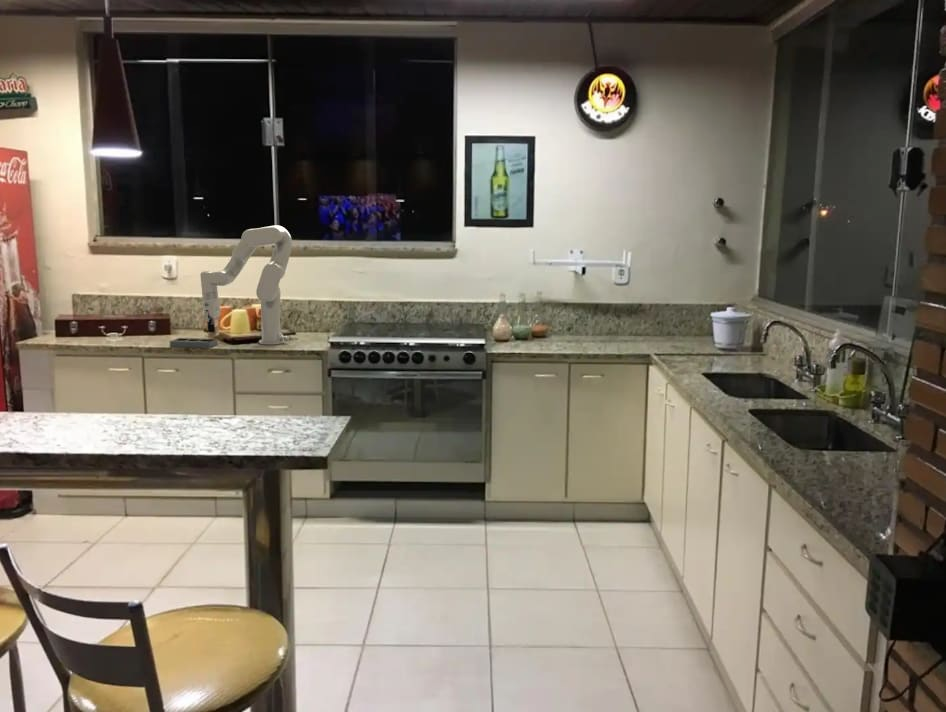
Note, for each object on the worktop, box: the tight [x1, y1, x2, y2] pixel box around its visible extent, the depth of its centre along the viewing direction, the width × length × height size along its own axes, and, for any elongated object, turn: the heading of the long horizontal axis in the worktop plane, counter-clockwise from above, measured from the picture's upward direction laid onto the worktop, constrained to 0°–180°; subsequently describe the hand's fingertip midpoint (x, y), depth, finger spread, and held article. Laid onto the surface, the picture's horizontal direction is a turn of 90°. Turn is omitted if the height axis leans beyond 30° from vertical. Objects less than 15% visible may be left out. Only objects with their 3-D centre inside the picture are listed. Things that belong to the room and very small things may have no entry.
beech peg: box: [206, 317, 220, 337], centre depth 393 cm, size 4×4×10 cm
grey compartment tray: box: [169, 337, 219, 349], centre depth 383 cm, size 20×10×3 cm, turn 85°
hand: (213, 330), depth 394 cm, fingers closed on beech peg, 4 cm apart
